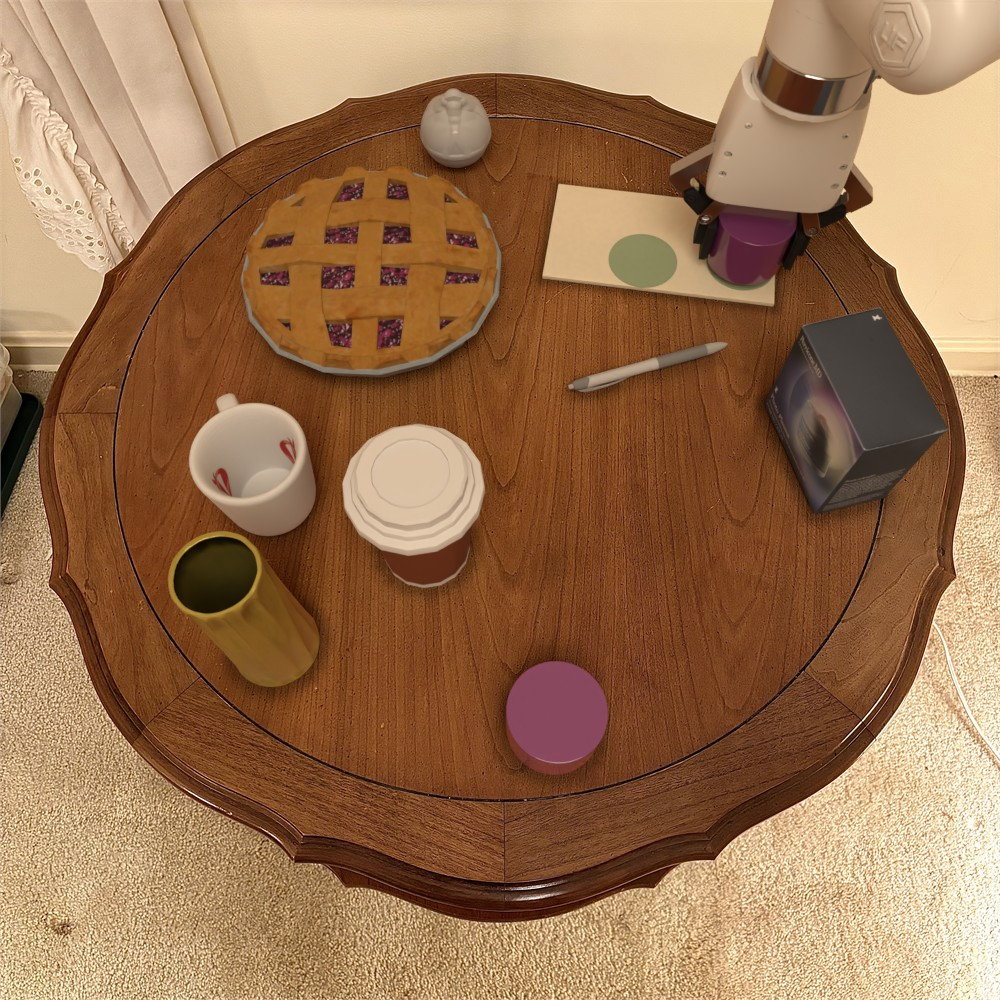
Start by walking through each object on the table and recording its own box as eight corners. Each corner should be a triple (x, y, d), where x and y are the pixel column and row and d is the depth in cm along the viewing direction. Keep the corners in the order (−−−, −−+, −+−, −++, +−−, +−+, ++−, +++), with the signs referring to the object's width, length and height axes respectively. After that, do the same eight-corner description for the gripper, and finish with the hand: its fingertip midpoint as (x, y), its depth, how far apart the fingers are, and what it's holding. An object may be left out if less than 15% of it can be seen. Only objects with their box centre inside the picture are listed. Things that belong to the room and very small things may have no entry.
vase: (338, 645, 60) (291, 573, 47) (268, 706, 58) (201, 649, 45) (284, 587, 62) (226, 502, 49) (216, 644, 60) (136, 572, 47)
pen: (565, 388, 69) (566, 378, 68) (722, 345, 71) (726, 335, 69) (569, 398, 68) (570, 389, 67) (727, 354, 70) (731, 344, 69)
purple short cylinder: (605, 686, 58) (613, 668, 54) (595, 782, 55) (602, 771, 51) (513, 672, 59) (514, 653, 54) (498, 766, 56) (498, 754, 52)
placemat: (775, 211, 77) (777, 207, 77) (773, 306, 72) (774, 303, 72) (558, 186, 79) (558, 182, 78) (542, 278, 74) (542, 274, 73)
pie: (487, 186, 79) (486, 142, 74) (517, 382, 69) (518, 345, 65) (251, 208, 78) (235, 165, 73) (249, 410, 68) (230, 374, 64)
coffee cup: (371, 490, 65) (345, 407, 54) (490, 493, 65) (487, 410, 54) (359, 603, 61) (327, 538, 50) (485, 607, 61) (481, 542, 50)
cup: (197, 453, 66) (159, 398, 59) (292, 413, 68) (266, 355, 61) (244, 567, 62) (209, 523, 55) (343, 522, 64) (323, 472, 57)
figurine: (490, 128, 82) (488, 53, 75) (493, 181, 79) (492, 108, 72) (422, 131, 82) (414, 56, 75) (423, 184, 79) (415, 111, 72)
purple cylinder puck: (781, 232, 74) (798, 191, 70) (779, 289, 72) (797, 250, 67) (707, 224, 75) (720, 182, 70) (704, 280, 72) (716, 240, 68)
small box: (757, 402, 68) (797, 321, 59) (831, 385, 69) (883, 302, 59) (810, 518, 64) (862, 450, 54) (889, 498, 64) (955, 427, 55)
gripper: (942, 42, 58) (846, 231, 74) (687, 16, 59) (647, 208, 75) (949, 118, 54) (847, 299, 70) (679, 90, 56) (640, 274, 72)
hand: (745, 251), depth 73 cm, fingers closed on purple cylinder puck, 6 cm apart
